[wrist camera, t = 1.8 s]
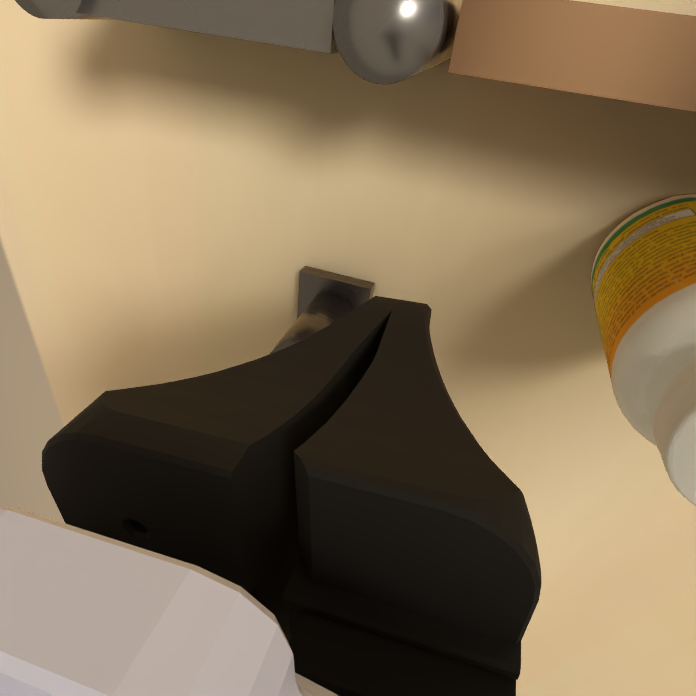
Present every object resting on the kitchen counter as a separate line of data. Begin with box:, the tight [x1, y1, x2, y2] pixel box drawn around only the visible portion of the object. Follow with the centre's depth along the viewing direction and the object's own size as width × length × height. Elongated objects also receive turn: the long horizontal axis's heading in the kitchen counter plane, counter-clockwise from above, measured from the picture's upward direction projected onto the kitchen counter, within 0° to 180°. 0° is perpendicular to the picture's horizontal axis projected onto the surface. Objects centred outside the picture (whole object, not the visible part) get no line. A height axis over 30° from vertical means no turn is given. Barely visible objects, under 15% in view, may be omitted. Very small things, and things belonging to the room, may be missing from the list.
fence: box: [15, 0, 462, 84], centre depth 14 cm, size 12×2×6 cm, turn 83°
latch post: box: [270, 266, 375, 354], centre depth 20 cm, size 3×3×6 cm
